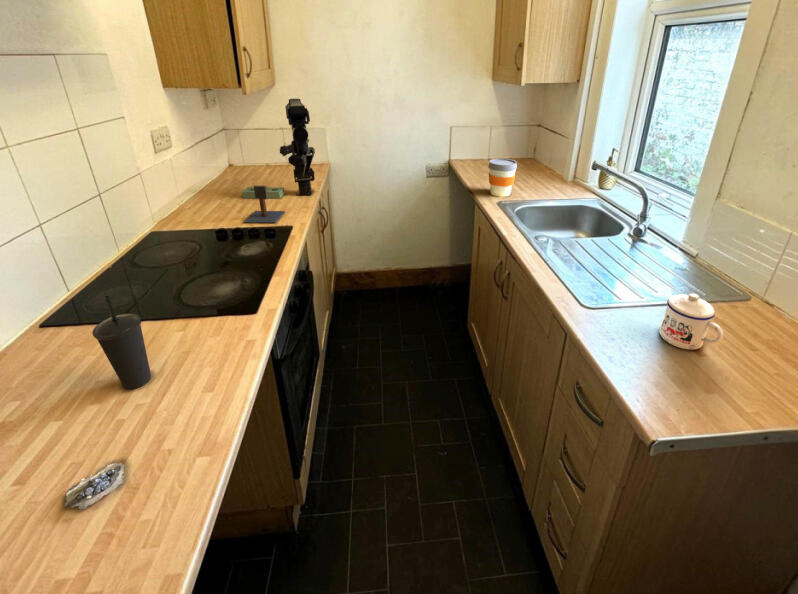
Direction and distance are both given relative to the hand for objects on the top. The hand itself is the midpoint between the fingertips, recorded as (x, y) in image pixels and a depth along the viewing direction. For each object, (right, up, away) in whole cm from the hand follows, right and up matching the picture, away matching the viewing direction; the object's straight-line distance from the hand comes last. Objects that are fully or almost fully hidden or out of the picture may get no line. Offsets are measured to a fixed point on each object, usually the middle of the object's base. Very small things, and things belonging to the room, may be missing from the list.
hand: (304, 175), depth 174 cm
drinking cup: (-9, -56, -91) cm, 107 cm away
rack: (-23, -7, +16) cm, 29 cm away
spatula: (-13, -18, -9) cm, 24 cm away
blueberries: (-2, -65, -111) cm, 129 cm away
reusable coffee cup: (+86, -6, +19) cm, 89 cm away
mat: (-13, -18, -9) cm, 24 cm away
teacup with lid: (+109, -51, -79) cm, 144 cm away
